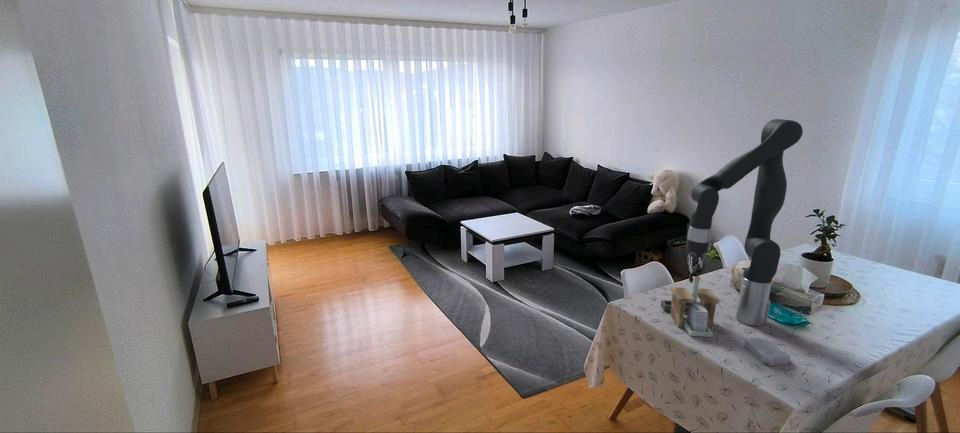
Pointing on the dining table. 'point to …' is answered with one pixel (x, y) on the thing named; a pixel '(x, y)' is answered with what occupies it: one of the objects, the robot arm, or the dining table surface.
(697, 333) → the slider
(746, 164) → the robot arm
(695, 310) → the medicine box
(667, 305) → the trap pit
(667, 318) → the dining table surface
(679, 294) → the tunnel
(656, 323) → the dining table surface
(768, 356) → the stone block
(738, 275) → the coin bank
